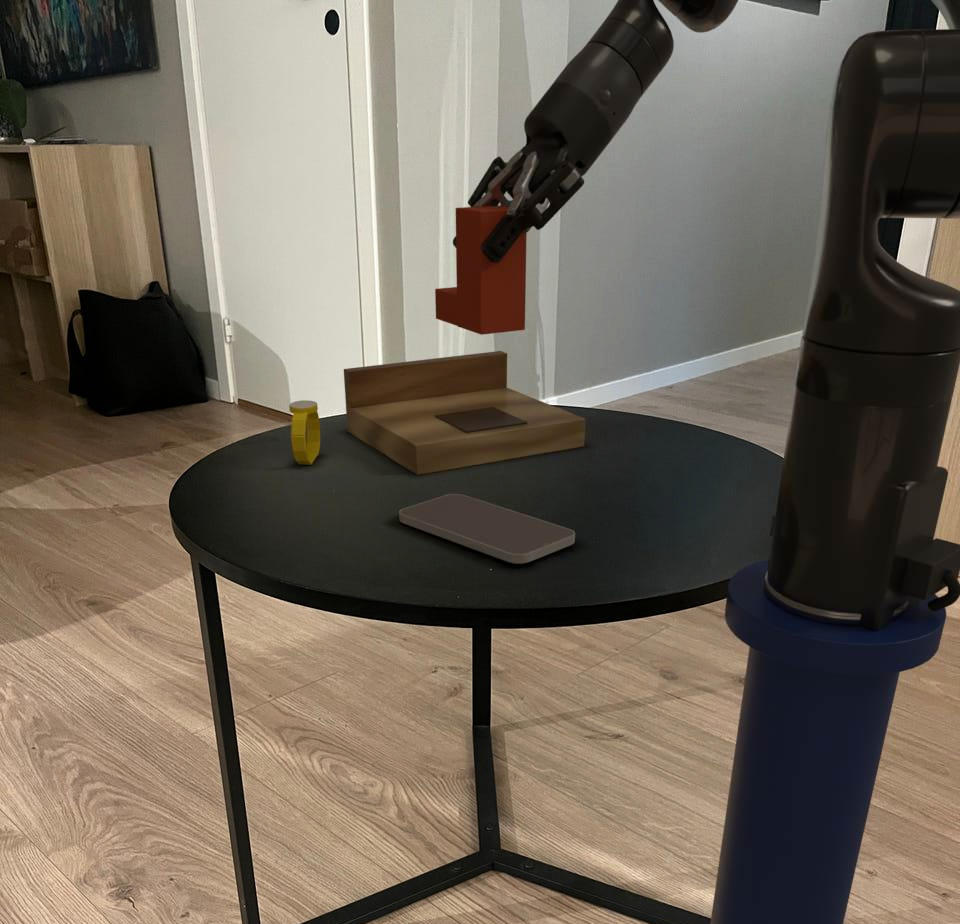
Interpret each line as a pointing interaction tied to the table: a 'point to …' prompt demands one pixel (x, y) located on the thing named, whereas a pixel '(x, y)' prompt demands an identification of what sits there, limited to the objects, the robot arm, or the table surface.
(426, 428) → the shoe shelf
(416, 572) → the table surface
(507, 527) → the smartphone
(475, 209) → the boot
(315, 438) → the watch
